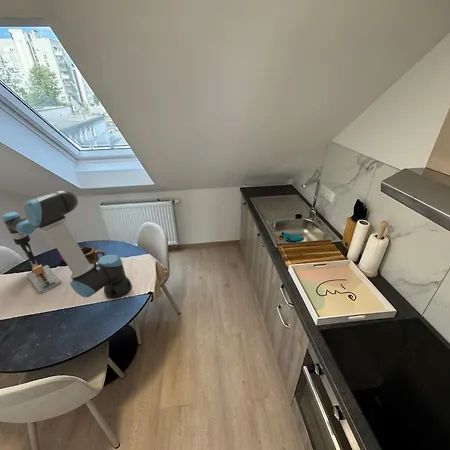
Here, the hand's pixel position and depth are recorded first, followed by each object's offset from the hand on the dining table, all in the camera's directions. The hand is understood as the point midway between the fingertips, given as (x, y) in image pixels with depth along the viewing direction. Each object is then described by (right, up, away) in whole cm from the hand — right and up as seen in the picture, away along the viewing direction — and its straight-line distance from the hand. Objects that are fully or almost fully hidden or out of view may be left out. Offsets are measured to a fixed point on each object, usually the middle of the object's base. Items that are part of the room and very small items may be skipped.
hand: (35, 267), depth 163 cm
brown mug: (+34, -1, +5) cm, 34 cm away
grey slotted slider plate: (+9, -7, -5) cm, 13 cm away
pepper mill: (+13, +3, +13) cm, 18 cm away
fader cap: (+5, -3, -3) cm, 7 cm away
